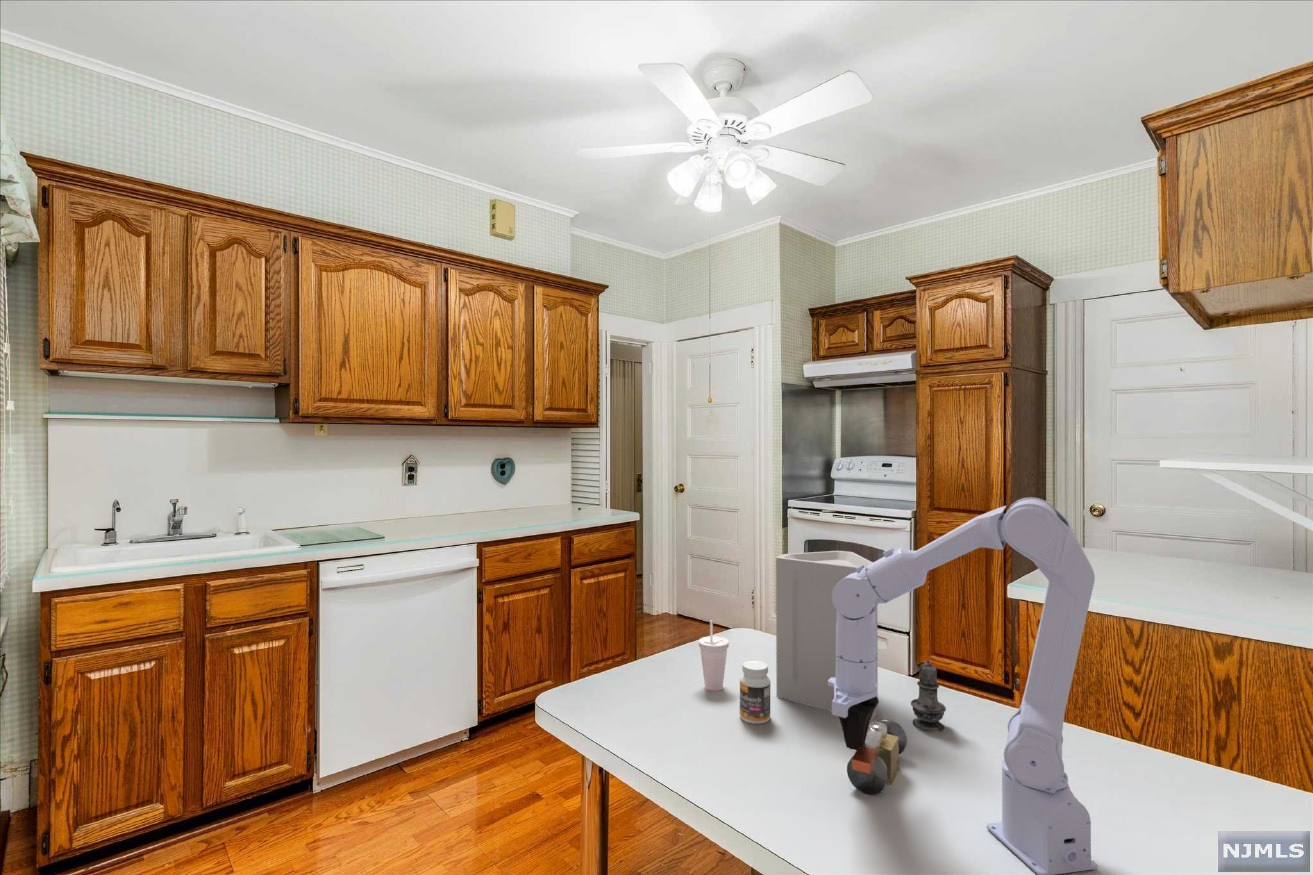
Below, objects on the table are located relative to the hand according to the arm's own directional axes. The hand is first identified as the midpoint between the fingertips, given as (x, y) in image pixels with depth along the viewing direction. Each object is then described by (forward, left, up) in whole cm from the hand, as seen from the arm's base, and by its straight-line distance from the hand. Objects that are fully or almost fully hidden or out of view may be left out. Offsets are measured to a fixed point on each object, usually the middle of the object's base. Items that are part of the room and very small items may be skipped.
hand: (854, 747), depth 91 cm
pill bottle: (+25, +7, -7) cm, 27 cm away
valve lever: (0, -2, 0) cm, 2 cm away
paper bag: (+32, -12, -7) cm, 35 cm away
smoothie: (+40, +11, -7) cm, 42 cm away
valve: (+4, -6, -6) cm, 9 cm away
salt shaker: (+17, -23, -7) cm, 29 cm away
